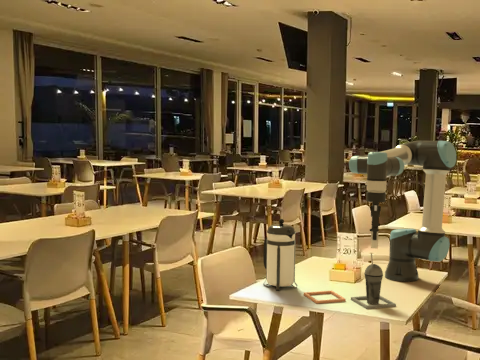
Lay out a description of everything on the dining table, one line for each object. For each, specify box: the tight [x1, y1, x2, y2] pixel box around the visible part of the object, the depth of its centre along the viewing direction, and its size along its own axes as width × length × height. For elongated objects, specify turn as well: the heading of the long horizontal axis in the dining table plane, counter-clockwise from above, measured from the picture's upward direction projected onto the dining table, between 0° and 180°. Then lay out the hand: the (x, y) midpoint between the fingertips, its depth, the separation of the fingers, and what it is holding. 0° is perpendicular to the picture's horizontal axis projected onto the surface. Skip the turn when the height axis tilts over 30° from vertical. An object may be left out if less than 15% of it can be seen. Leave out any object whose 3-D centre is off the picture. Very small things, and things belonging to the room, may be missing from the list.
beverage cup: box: [363, 252, 384, 305], centre depth 223 cm, size 7×7×20 cm
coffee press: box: [263, 218, 298, 292], centre depth 246 cm, size 17×16×30 cm
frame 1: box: [303, 290, 347, 304], centre depth 229 cm, size 13×13×1 cm
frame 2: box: [350, 295, 397, 310], centre depth 223 cm, size 13×13×1 cm
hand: (374, 245), depth 222 cm, fingers open, 13 cm apart
